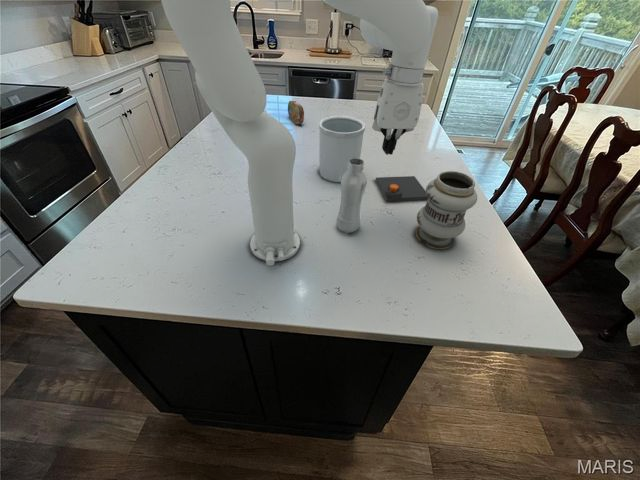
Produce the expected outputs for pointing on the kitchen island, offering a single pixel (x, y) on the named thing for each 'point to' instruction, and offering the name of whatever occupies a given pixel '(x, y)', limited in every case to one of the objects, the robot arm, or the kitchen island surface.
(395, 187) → the tare button
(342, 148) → the utensil holder
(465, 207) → the apothecary jar
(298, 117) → the mottled brown slab
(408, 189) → the scale
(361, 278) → the kitchen island surface
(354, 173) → the plastic bottle
